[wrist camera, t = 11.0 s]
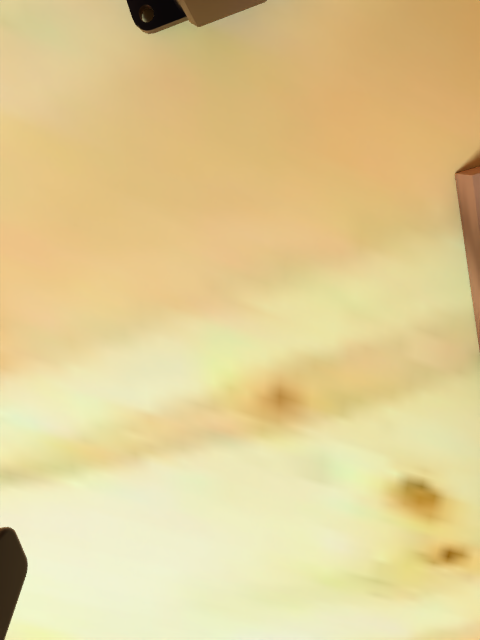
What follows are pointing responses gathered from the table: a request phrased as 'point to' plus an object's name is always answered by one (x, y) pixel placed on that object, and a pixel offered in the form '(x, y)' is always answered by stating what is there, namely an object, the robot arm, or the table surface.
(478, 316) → the shelf board
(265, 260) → the table surface
